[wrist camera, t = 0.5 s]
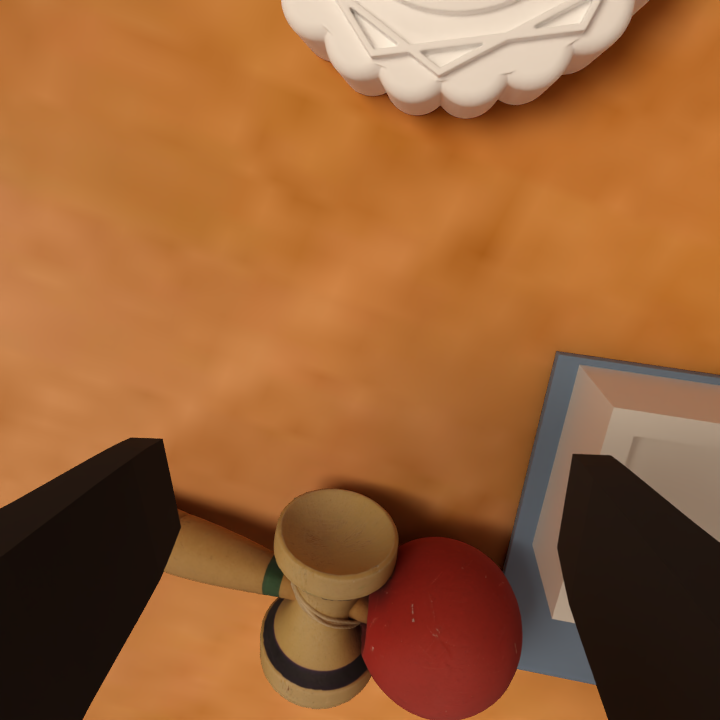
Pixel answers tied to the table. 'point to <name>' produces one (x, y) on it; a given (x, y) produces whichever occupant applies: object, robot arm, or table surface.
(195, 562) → the kendama
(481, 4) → the mooncake
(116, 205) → the table surface
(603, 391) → the base block
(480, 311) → the table surface
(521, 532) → the mat
